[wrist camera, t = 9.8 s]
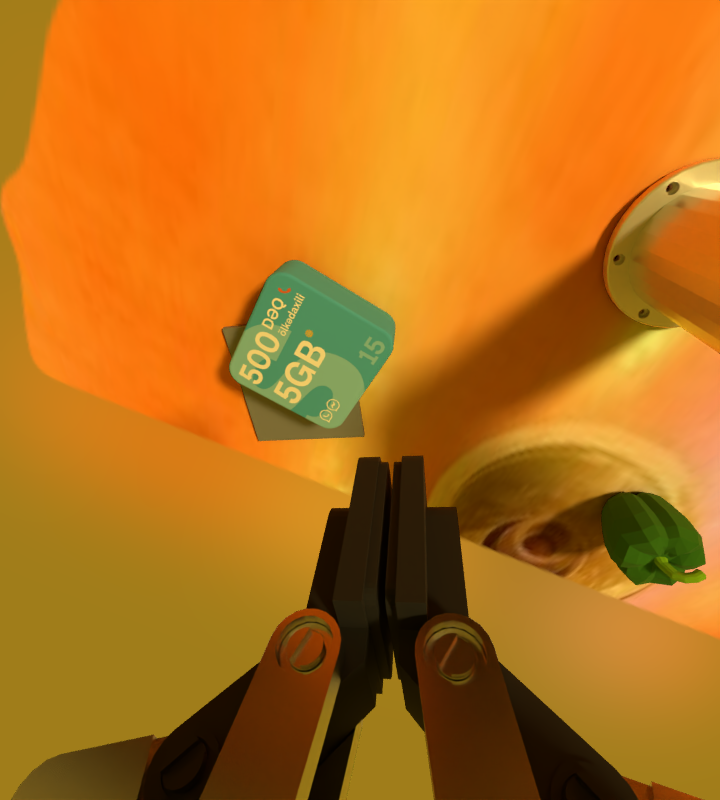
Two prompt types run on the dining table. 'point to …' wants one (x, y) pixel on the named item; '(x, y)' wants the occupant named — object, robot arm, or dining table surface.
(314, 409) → the teal square box
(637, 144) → the dining table surface
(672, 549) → the bell pepper
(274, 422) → the mat
